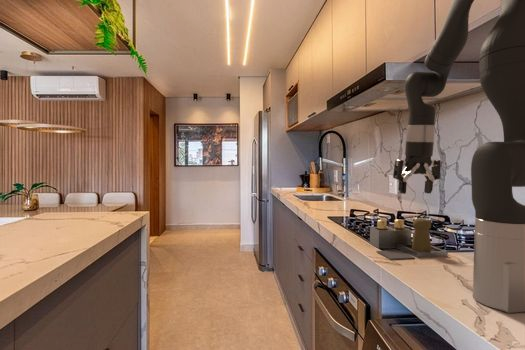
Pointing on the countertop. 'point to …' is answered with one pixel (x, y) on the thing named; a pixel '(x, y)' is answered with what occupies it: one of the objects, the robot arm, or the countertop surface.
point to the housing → (400, 242)
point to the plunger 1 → (381, 224)
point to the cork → (421, 235)
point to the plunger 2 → (399, 224)
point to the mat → (395, 255)
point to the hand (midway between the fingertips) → (415, 193)
